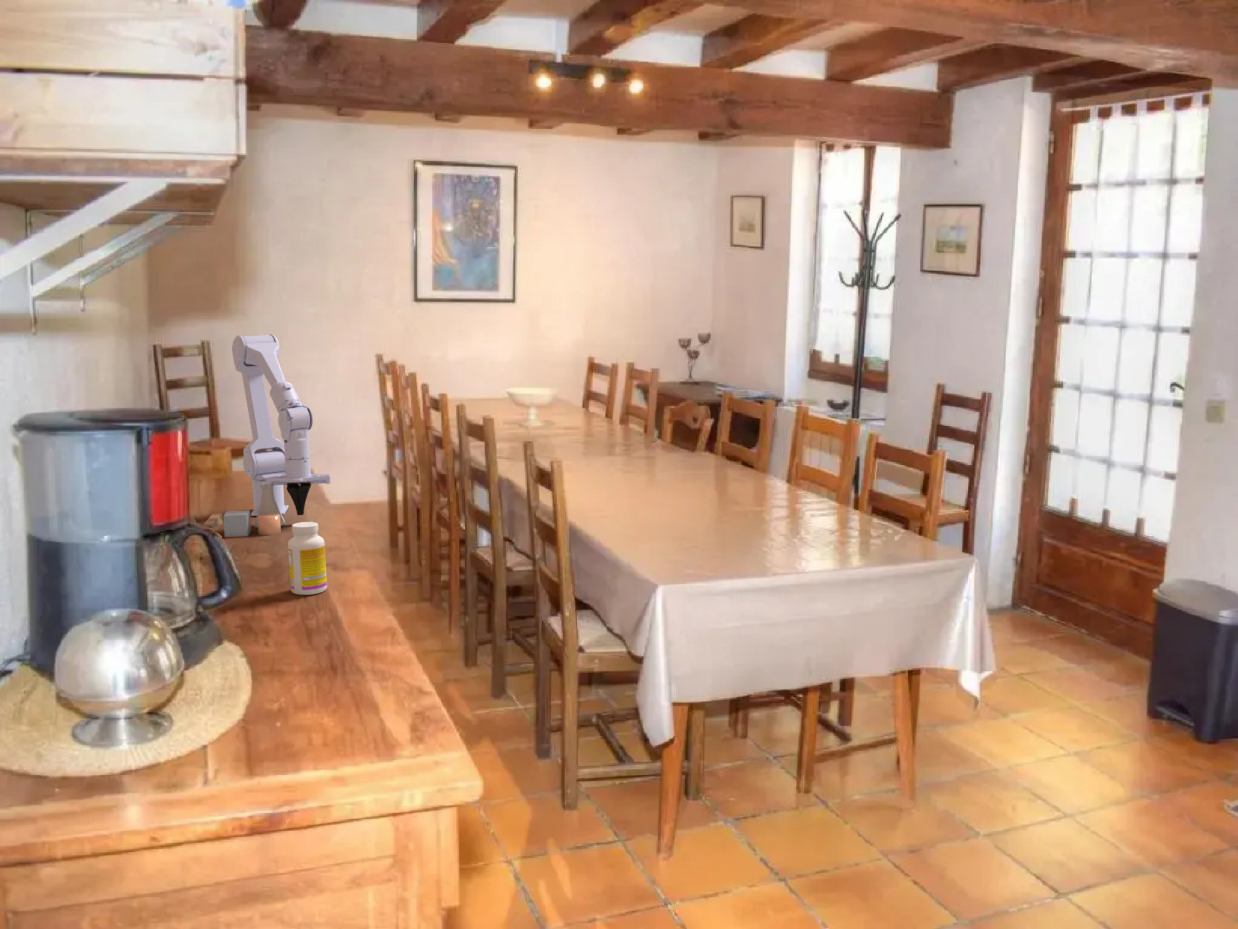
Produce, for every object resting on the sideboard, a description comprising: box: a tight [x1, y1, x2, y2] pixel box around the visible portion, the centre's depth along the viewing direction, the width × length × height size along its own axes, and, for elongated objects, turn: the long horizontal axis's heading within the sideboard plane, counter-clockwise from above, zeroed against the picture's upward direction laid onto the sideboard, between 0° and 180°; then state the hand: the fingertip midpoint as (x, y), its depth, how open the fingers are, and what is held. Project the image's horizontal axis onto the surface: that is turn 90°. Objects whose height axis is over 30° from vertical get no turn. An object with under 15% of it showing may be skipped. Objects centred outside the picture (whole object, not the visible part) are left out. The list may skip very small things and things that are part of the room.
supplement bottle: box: [287, 521, 328, 596], centre depth 211 cm, size 7×7×13 cm
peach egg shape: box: [256, 514, 282, 536], centre depth 259 cm, size 5×5×4 cm
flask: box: [253, 483, 286, 528], centre depth 266 cm, size 7×7×10 cm
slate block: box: [222, 510, 252, 538], centre depth 258 cm, size 5×5×5 cm
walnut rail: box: [202, 512, 224, 532], centre depth 262 cm, size 14×2×2 cm, turn 9°
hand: (300, 514), depth 267 cm, fingers closed
